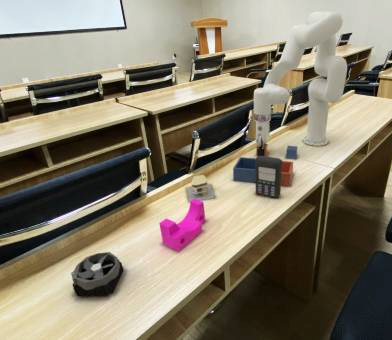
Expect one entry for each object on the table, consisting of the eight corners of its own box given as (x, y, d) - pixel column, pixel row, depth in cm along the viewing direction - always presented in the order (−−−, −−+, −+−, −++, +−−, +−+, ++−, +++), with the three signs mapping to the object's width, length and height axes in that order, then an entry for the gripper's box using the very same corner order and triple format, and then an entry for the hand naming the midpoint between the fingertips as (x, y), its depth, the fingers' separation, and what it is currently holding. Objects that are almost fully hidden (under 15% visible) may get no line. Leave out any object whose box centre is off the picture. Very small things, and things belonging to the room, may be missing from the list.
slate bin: (240, 168, 133) (239, 156, 130) (264, 171, 131) (264, 159, 128) (233, 180, 124) (233, 168, 121) (259, 183, 121) (259, 170, 119)
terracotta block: (258, 151, 148) (258, 143, 146) (267, 152, 147) (267, 143, 145) (256, 155, 144) (256, 146, 142) (265, 156, 143) (265, 147, 141)
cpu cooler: (123, 251, 80) (108, 281, 71) (127, 267, 83) (113, 298, 74) (84, 251, 80) (63, 282, 71) (89, 267, 83) (70, 299, 74)
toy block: (178, 251, 88) (175, 230, 84) (163, 243, 91) (159, 223, 87) (211, 223, 99) (209, 204, 95) (196, 217, 102) (194, 198, 99)
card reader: (254, 195, 114) (253, 158, 107) (257, 189, 117) (257, 154, 110) (277, 200, 111) (279, 162, 104) (281, 194, 114) (282, 157, 107)
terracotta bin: (267, 171, 130) (267, 159, 128) (292, 173, 128) (293, 161, 125) (262, 183, 121) (262, 171, 119) (289, 186, 119) (290, 173, 116)
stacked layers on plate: (187, 187, 119) (185, 175, 117) (210, 184, 121) (209, 172, 118) (189, 201, 111) (187, 188, 108) (214, 198, 112) (213, 185, 110)
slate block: (287, 154, 145) (287, 145, 143) (296, 155, 144) (297, 146, 142) (286, 158, 141) (286, 149, 139) (295, 159, 140) (296, 150, 138)
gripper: (267, 123, 129) (266, 162, 138) (273, 111, 144) (272, 147, 152) (249, 122, 131) (250, 160, 139) (258, 110, 145) (257, 146, 154)
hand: (262, 153), depth 146 cm, fingers open, 4 cm apart
